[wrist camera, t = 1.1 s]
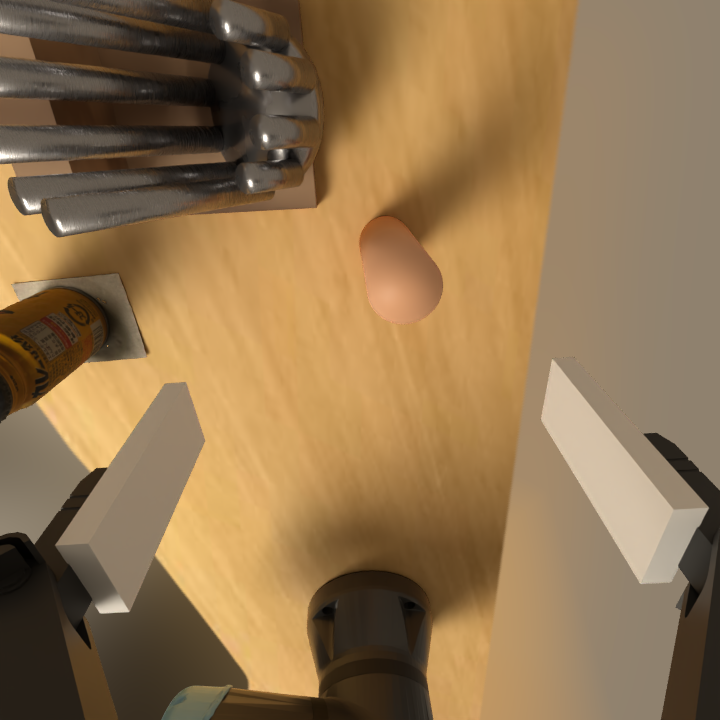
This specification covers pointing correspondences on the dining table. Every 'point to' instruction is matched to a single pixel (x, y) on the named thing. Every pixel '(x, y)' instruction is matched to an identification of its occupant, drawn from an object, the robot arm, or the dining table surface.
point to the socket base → (135, 108)
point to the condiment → (61, 334)
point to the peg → (398, 272)
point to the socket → (112, 85)
